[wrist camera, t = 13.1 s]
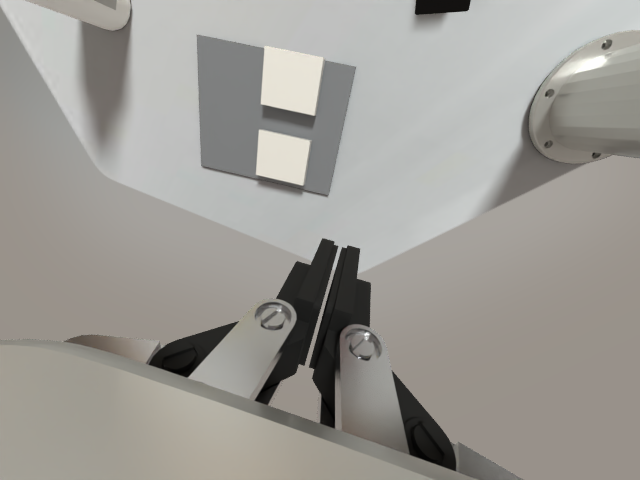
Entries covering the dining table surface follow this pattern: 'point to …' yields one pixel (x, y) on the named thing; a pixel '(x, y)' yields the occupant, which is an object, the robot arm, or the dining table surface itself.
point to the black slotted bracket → (441, 6)
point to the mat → (264, 113)
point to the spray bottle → (92, 11)
